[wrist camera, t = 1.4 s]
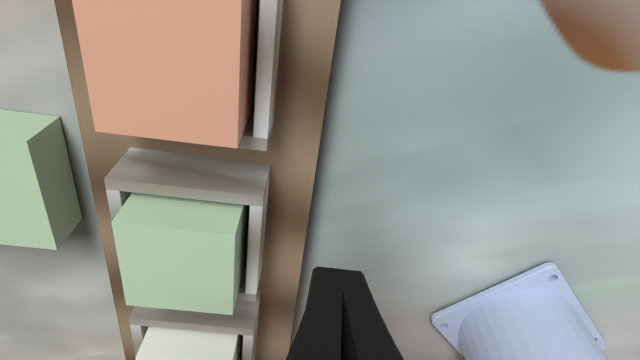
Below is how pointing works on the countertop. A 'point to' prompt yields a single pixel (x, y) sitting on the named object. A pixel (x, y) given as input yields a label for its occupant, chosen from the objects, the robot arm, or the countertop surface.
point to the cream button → (188, 345)
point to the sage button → (180, 252)
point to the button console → (228, 175)
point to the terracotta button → (169, 67)
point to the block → (35, 182)
